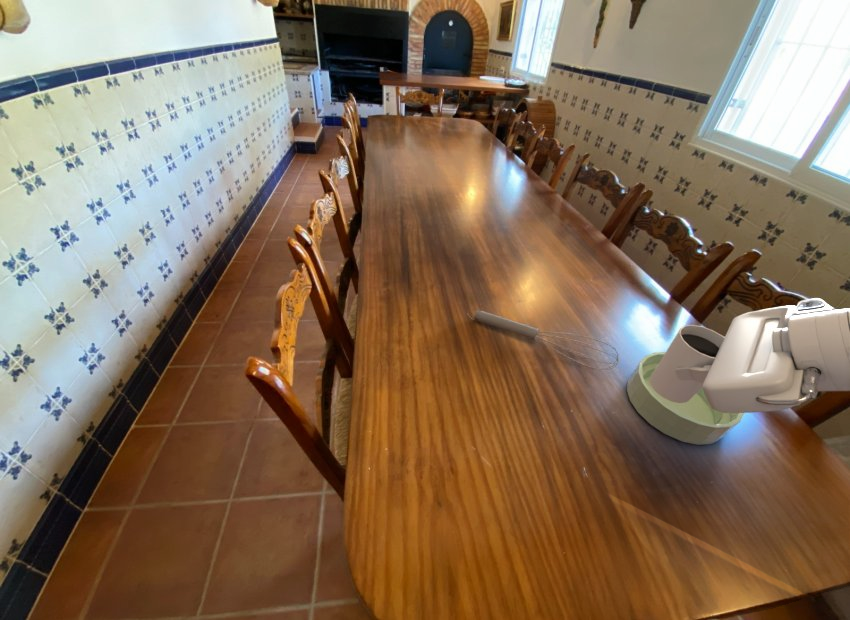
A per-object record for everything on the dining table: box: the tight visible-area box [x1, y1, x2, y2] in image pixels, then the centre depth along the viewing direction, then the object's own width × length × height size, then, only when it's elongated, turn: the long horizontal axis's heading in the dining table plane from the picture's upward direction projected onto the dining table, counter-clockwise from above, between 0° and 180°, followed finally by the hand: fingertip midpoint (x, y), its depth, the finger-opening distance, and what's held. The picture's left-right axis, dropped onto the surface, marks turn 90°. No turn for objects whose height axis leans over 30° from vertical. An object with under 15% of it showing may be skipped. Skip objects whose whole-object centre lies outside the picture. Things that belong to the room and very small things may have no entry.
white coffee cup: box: [650, 324, 725, 403], centre depth 52 cm, size 7×7×10 cm
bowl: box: [626, 351, 745, 446], centre depth 68 cm, size 17×17×6 cm
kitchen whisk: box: [466, 308, 620, 371], centre depth 79 cm, size 6×34×6 cm, turn 62°
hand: (683, 361), depth 52 cm, fingers closed on white coffee cup, 4 cm apart
